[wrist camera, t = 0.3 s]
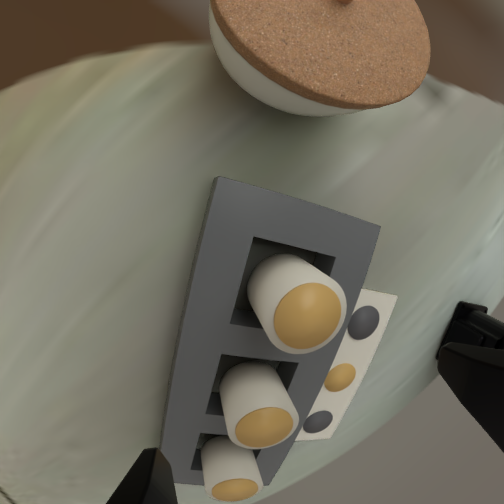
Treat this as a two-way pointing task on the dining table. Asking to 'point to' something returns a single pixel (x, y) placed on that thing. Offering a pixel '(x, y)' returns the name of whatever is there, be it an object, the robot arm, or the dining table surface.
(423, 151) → the dining table surface
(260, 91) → the lidded jar
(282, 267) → the button
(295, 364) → the board
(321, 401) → the card
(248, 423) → the button
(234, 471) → the button
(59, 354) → the dining table surface
